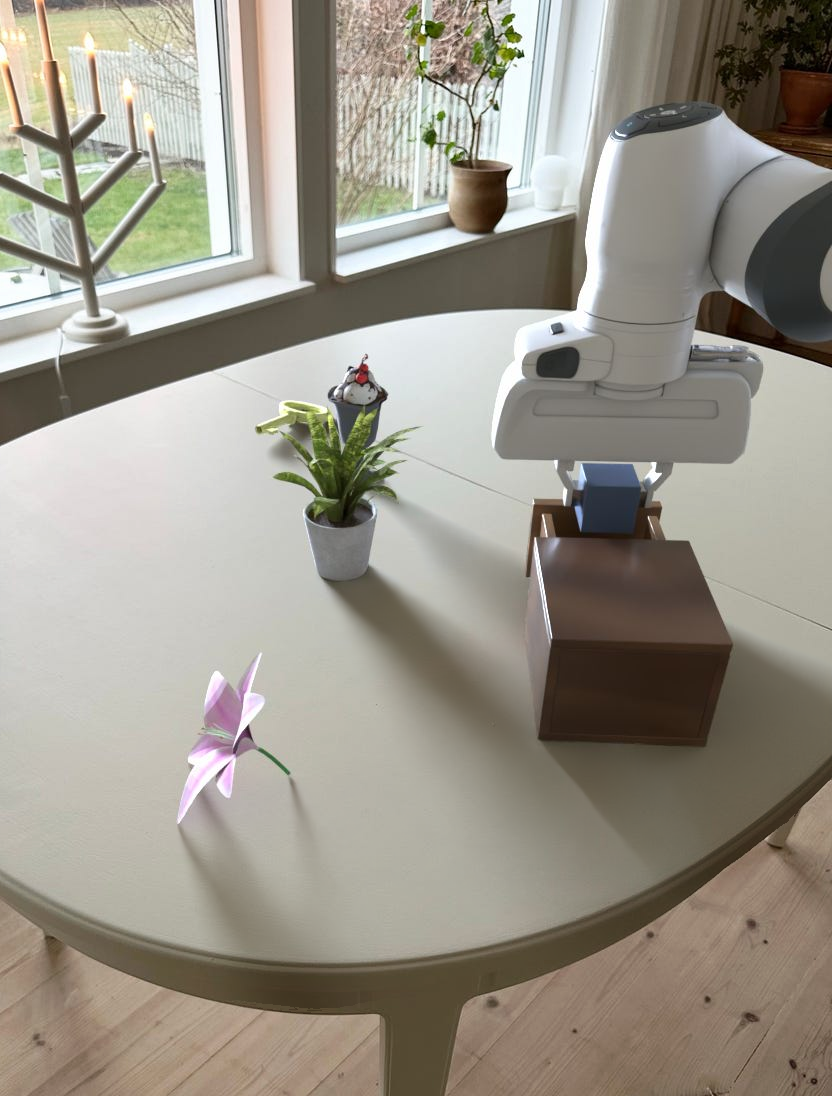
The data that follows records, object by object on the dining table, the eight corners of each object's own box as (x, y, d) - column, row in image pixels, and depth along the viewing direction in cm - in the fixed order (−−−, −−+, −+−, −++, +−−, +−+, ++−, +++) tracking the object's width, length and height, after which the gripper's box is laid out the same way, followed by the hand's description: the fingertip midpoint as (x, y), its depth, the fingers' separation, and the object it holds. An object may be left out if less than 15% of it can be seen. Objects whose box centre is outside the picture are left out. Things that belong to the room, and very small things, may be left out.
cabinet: (524, 630, 85) (534, 536, 79) (668, 635, 84) (689, 540, 78) (537, 740, 73) (551, 639, 67) (705, 746, 72) (733, 644, 67)
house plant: (405, 621, 86) (409, 454, 77) (257, 607, 88) (243, 443, 79) (424, 543, 98) (429, 389, 88) (292, 532, 100) (284, 381, 90)
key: (253, 443, 118) (252, 426, 117) (285, 406, 128) (284, 390, 126) (309, 449, 116) (308, 432, 115) (336, 411, 126) (336, 395, 125)
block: (624, 509, 84) (632, 463, 82) (633, 534, 81) (641, 487, 78) (574, 508, 85) (581, 462, 82) (580, 532, 81) (587, 485, 78)
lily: (236, 716, 77) (165, 646, 71) (359, 706, 71) (292, 627, 65) (185, 852, 71) (101, 786, 65) (315, 853, 64) (236, 781, 58)
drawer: (521, 547, 95) (528, 475, 90) (637, 550, 94) (651, 478, 90) (536, 655, 80) (546, 576, 76) (674, 659, 80) (692, 580, 75)
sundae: (371, 495, 106) (370, 363, 98) (319, 483, 109) (314, 353, 100) (398, 472, 111) (400, 344, 102) (347, 460, 114) (345, 335, 105)
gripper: (758, 332, 75) (720, 490, 84) (497, 329, 77) (485, 485, 85) (781, 360, 70) (738, 525, 78) (501, 356, 72) (488, 519, 80)
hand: (605, 504), depth 82 cm, fingers closed on block, 4 cm apart
